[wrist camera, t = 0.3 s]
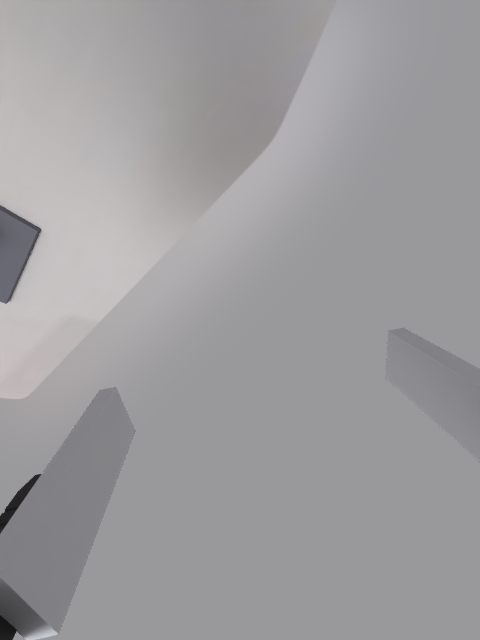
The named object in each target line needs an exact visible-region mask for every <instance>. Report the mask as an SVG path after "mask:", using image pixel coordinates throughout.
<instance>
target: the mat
mask: <svg viewBox="0 0 480 640" xmlns="http://www.w3.org/2000/svg"><path fill="white" fill-rule="evenodd" d="M40 230H41V229H40V228H38V227H36V226H34V225H33V224H31V223H29V222H28V221H26V220H24V219H22V218H21V217H19V216H17V215H15V214H14V213H12V212H10V211H8V210H7V209H5V208H3V207H2V206H0V302H3V303H5V304H6V303H8V302H9V301H10V298H11V296H12V294H13V292H14V289H15V287H16V285H17V282H18V280H19V278H20V276H21V273H22V271H23V269H24V267H25V264H26V262H27V260H28V257H29V255H30V253H31V251H32V248H33V246H34V244H35V242H36V239H37V237H38V235H39V233H40Z"/></svg>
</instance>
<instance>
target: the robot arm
mask: <svg viewBox="0 0 480 640" xmlns="http://www.w3.org/2000/svg"><path fill="white" fill-rule="evenodd" d="M385 378H386V379H387V380H388V381H389V382H390V383H391V384H392V385H394V386H395V387H396V388H397V389H398V390H399V391H400V392H402V393H403V394H404V395H405V396H406V397H407V398H408V399H409V400H411V401H412V402H413V403H414V404H415V405H416V406H417V407H418V408H419V409H421V410H422V411H423V412H424V413H425V414H426V415H427V416H428V417H430V418H431V419H432V420H433V421H434V422H435V423H436V424H437V425H439V426H440V427H441V428H442V429H443V430H444V431H445V432H447V433H448V434H449V435H450V436H451V437H452V438H453V439H454V440H455V441H457V442H458V443H459V444H460V445H461V446H462V447H463V448H465V450H467V451H468V452H469V453H470V454H471V455H472V456H473V457H474V458H476V459H477V460H478V461H479V462H480V369H479V368H477V367H475V366H474V365H472V364H470V363H468V362H466V361H464V360H462V359H460V358H459V357H457V356H455V355H453V354H451V353H449V352H448V351H446V350H444V349H442V348H440V347H438V346H436V345H434V344H433V343H431V342H429V341H427V340H425V339H423V338H422V337H420V336H418V335H416V334H414V333H412V332H410V331H408V330H407V329H405V328H400V329H395V330H390V331H388V342H387V359H386V376H385ZM134 434H135V429H134V427H133V424H132V422H131V420H130V418H129V415H128V413H127V411H126V408H125V407H124V404H123V402H122V400H121V397H120V395H119V393H118V390H117V388H116V387H113V388H108V389H103V390H99V392H98V393H97V394H96V396H95V398H94V399H93V400H92V402H91V403H90V405H89V406H88V408H87V409H86V411H85V412H84V413H83V415H82V416H81V418H80V419H79V421H78V422H77V424H76V425H75V426H74V428H73V429H72V431H71V432H70V434H69V435H68V437H67V438H66V439H65V441H64V442H63V444H62V445H61V447H60V448H59V450H58V451H57V453H56V454H55V455H54V457H53V458H52V460H51V461H50V463H49V464H48V465H47V467H46V468H45V470H44V471H43V473H42V474H39V475H35V476H34V477H33V478H32V479H31V480H30V481H29V482H28V483H26V484H25V485H24V486H23V487H22V488H21V489H20V490H19V491H18V492H17V494H16V495H15V496H14V498H13V499H12V501H11V502H10V503H9V505H8V506H7V507H6V509H5V512H4V513H2V514H1V516H0V640H12V639H13V637H14V635H15V633H16V631H17V632H18V633H19V634H20V635H22V636H23V637H24V638H25V639H26V640H36V639H41V638H45V637H50V636H54V635H58V634H59V632H60V630H61V627H62V624H63V622H64V619H65V616H66V613H67V611H68V608H69V606H70V603H71V600H72V598H73V595H74V592H75V590H76V587H77V585H78V582H79V579H80V577H81V574H82V571H83V569H84V566H85V563H86V561H87V558H88V555H89V553H90V550H91V547H92V545H93V542H94V539H95V537H96V534H97V532H98V529H99V526H100V524H101V521H102V518H103V516H104V513H105V510H106V508H107V505H108V503H109V500H110V497H111V495H112V492H113V489H114V487H115V484H116V481H117V479H118V476H119V473H120V471H121V468H122V466H123V463H124V460H125V458H126V455H127V452H128V449H129V447H130V444H131V441H132V439H133V436H134Z"/></svg>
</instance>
